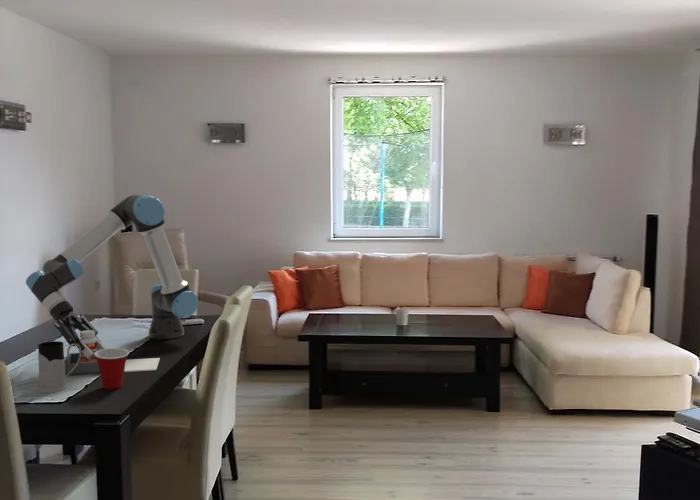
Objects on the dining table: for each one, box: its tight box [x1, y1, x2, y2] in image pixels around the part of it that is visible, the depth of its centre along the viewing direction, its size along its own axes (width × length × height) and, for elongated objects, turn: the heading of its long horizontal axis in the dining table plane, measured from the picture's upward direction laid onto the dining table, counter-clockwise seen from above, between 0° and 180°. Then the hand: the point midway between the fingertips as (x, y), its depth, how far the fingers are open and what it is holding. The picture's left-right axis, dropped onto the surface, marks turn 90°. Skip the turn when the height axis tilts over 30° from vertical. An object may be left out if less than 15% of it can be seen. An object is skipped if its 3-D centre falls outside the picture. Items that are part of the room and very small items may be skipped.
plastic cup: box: [94, 347, 130, 391], centre depth 226 cm, size 11×11×12 cm
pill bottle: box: [78, 330, 97, 363], centre depth 249 cm, size 6×6×11 cm
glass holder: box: [37, 340, 81, 394], centre depth 226 cm, size 9×14×15 cm, turn 134°
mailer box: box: [65, 352, 161, 376], centre depth 251 cm, size 32×16×4 cm, turn 101°
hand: (96, 353), depth 248 cm, fingers closed on pill bottle, 6 cm apart
